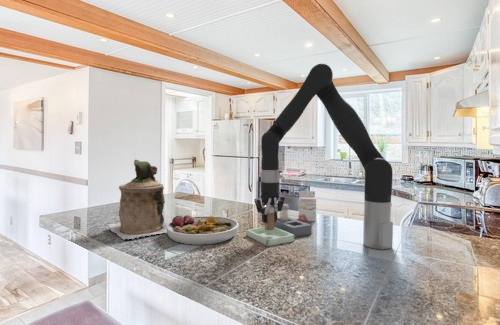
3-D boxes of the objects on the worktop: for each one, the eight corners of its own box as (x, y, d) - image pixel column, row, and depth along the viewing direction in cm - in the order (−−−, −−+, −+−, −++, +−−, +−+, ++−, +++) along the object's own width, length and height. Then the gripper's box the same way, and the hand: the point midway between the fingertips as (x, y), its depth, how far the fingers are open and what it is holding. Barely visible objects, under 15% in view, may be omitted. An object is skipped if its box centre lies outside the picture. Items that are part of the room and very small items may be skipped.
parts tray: (294, 241, 118) (294, 234, 118) (267, 246, 112) (267, 240, 112) (271, 231, 132) (271, 225, 132) (246, 235, 126) (246, 229, 125)
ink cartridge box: (299, 220, 151) (299, 192, 150) (298, 218, 156) (298, 190, 155) (316, 221, 150) (316, 192, 149) (315, 219, 155) (315, 191, 154)
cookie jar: (123, 242, 117) (121, 161, 115) (106, 229, 135) (104, 159, 134) (180, 231, 133) (179, 159, 131) (158, 220, 151) (157, 158, 150)
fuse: (290, 228, 136) (290, 205, 135) (283, 230, 134) (283, 206, 133) (284, 226, 139) (285, 203, 139) (277, 228, 137) (278, 204, 137)
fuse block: (311, 233, 128) (311, 224, 128) (293, 237, 123) (293, 227, 123) (286, 224, 144) (286, 216, 143) (268, 227, 139) (268, 218, 138)
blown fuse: (276, 234, 121) (276, 207, 121) (268, 235, 119) (268, 208, 119) (270, 231, 125) (270, 205, 124) (262, 233, 123) (262, 206, 122)
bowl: (246, 229, 137) (246, 212, 137) (224, 251, 108) (223, 229, 108) (187, 224, 145) (187, 208, 144) (151, 243, 116) (151, 224, 116)
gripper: (260, 182, 114) (259, 226, 115) (289, 180, 121) (289, 222, 122) (250, 180, 120) (250, 222, 121) (278, 179, 128) (278, 218, 128)
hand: (269, 222), depth 122 cm, fingers closed on blown fuse, 4 cm apart
